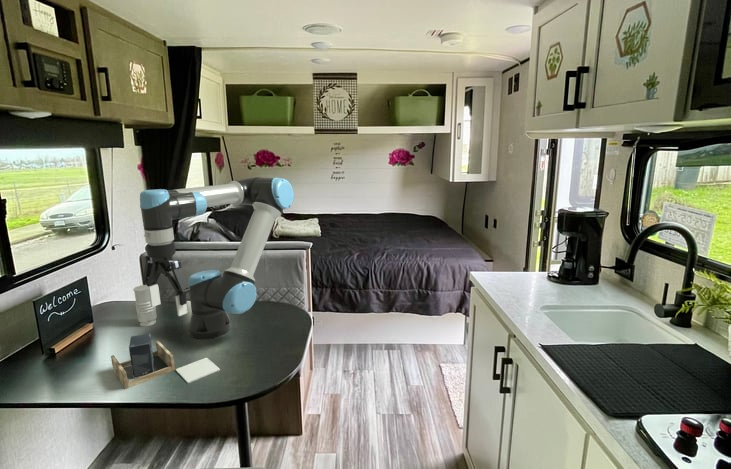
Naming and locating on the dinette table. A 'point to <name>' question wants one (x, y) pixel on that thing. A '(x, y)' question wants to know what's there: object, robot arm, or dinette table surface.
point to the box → (141, 355)
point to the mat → (197, 370)
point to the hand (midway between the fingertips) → (168, 309)
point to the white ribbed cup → (144, 306)
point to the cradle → (122, 376)
